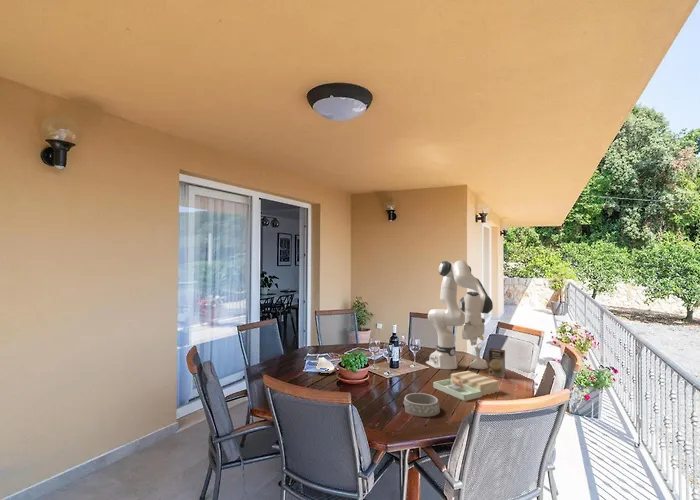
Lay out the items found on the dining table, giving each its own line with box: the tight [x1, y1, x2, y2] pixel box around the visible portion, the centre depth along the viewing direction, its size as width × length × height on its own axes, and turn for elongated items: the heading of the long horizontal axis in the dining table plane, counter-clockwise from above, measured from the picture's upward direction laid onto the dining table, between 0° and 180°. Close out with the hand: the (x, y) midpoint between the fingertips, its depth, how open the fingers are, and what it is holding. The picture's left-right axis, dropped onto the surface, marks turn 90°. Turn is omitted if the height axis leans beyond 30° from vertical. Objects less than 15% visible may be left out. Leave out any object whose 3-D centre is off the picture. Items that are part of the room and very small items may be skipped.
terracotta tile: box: [452, 378, 463, 389], centre depth 209 cm, size 5×5×2 cm
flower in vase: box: [468, 335, 488, 370], centre depth 253 cm, size 13×11×25 cm
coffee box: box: [488, 348, 506, 379], centre depth 236 cm, size 9×6×16 cm
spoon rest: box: [315, 356, 335, 374], centre depth 246 cm, size 24×12×7 cm, turn 18°
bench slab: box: [450, 370, 499, 397], centre depth 212 cm, size 22×14×6 cm, turn 29°
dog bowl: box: [402, 392, 441, 418], centre depth 181 cm, size 17×18×5 cm
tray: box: [432, 378, 483, 402], centre depth 205 cm, size 24×12×3 cm, turn 29°
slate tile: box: [448, 385, 462, 392], centre depth 206 cm, size 5×5×2 cm
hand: (473, 345), depth 213 cm, fingers closed
